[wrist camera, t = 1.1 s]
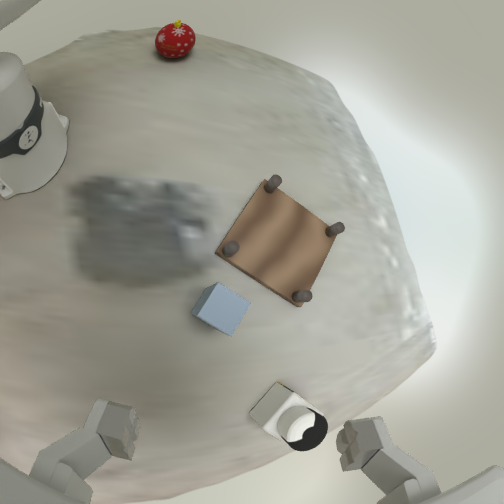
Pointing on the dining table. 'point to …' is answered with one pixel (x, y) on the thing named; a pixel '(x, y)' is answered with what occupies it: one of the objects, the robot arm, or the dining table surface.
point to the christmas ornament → (175, 40)
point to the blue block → (221, 308)
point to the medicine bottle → (290, 418)
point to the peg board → (279, 243)
